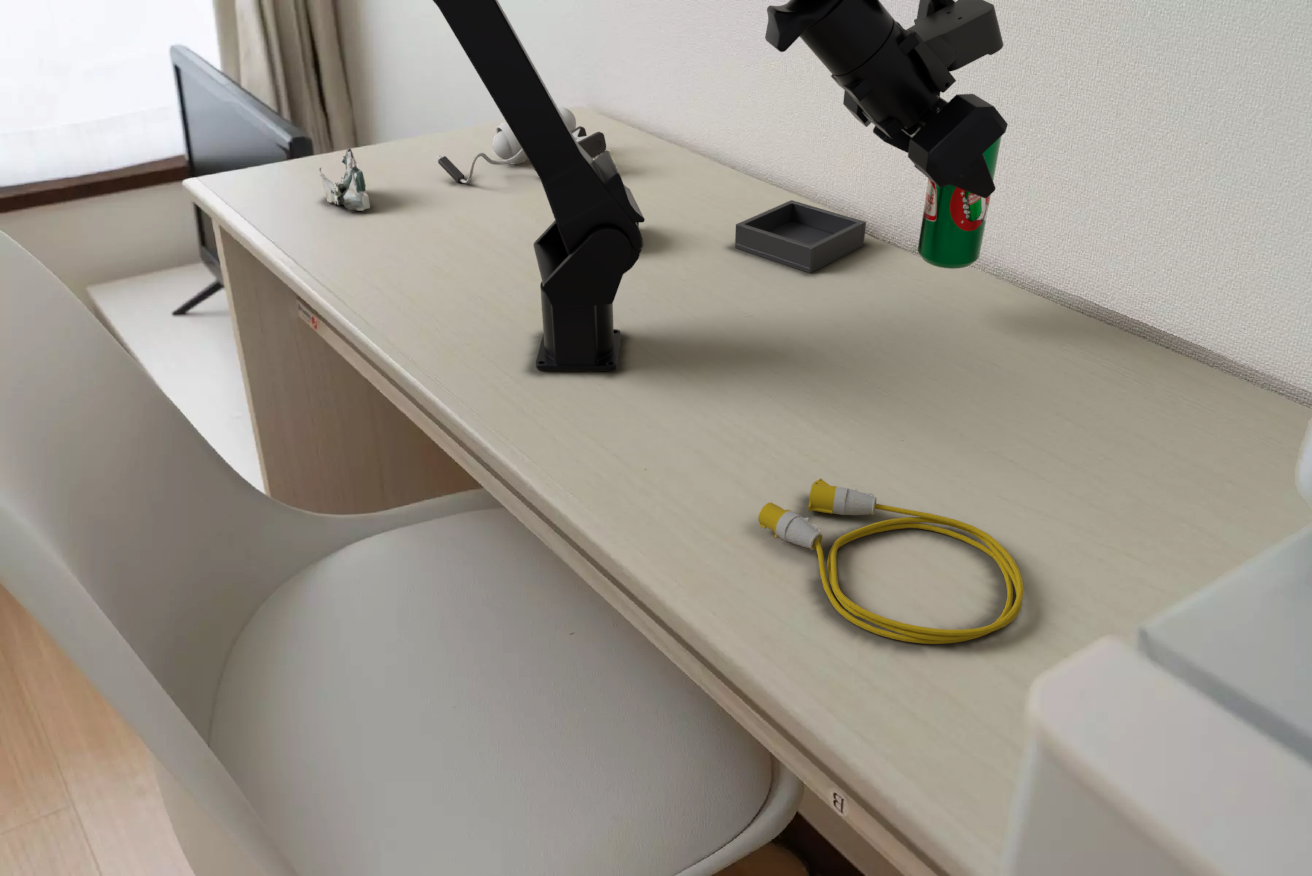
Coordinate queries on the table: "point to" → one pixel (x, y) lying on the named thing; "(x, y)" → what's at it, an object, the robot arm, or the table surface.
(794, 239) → the square tray
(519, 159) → the clip-on lamp
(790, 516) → the extension cord
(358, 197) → the grey green figurine
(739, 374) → the table surface
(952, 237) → the soda can
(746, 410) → the table surface
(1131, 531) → the table surface
